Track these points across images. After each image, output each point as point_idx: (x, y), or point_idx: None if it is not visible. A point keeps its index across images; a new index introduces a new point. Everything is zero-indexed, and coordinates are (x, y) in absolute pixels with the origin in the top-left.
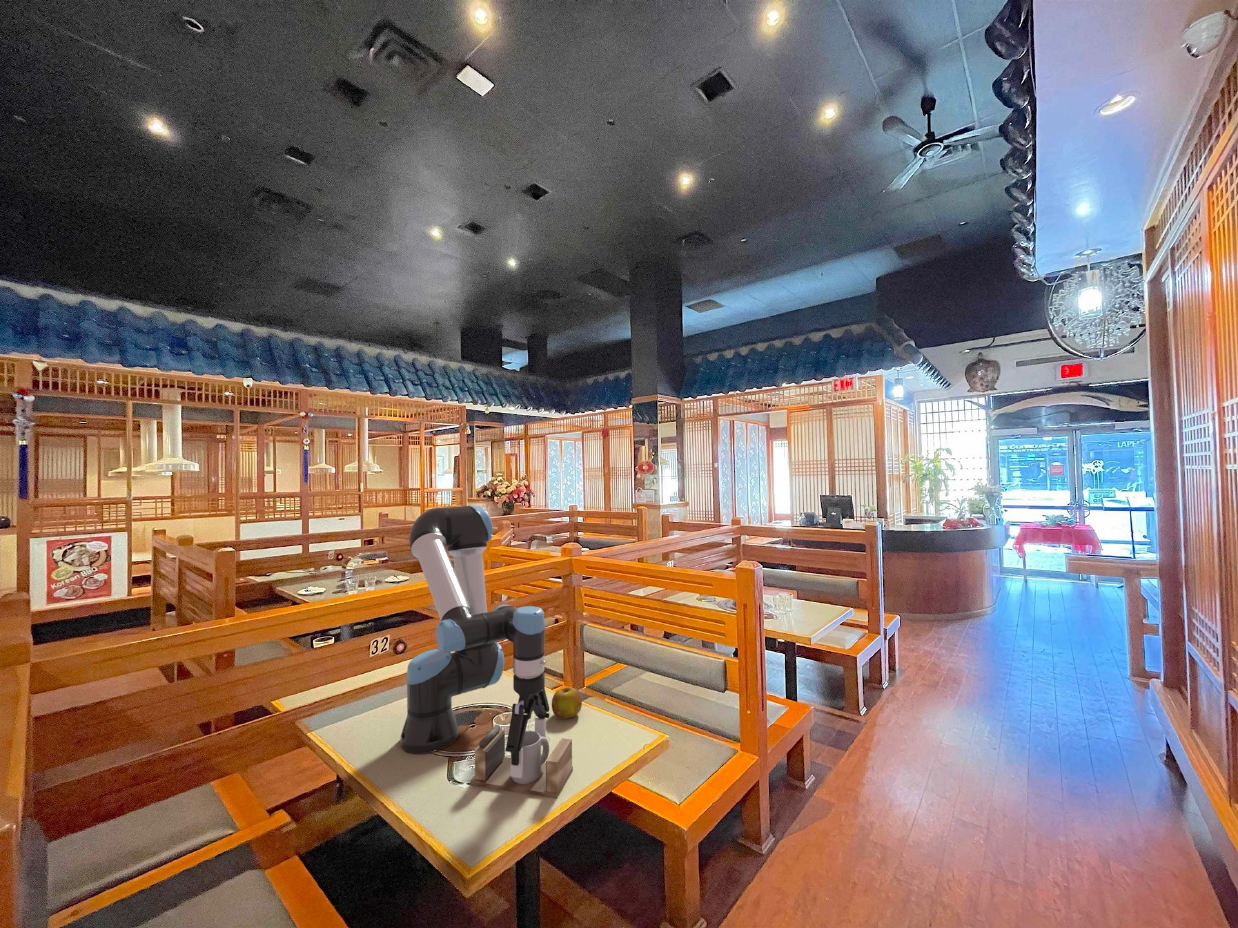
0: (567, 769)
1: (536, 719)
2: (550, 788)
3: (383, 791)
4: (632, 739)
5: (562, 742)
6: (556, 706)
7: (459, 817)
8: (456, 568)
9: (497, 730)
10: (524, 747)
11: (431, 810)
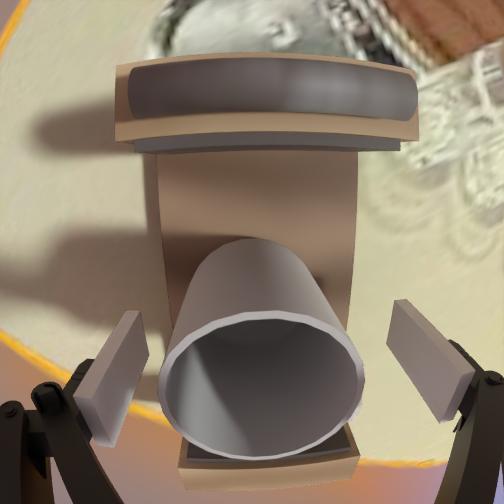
0: None
1: (457, 383)
2: None
3: None
4: (453, 436)
5: (326, 468)
6: None
7: (19, 171)
8: None
9: (363, 114)
10: (172, 420)
11: (27, 69)
